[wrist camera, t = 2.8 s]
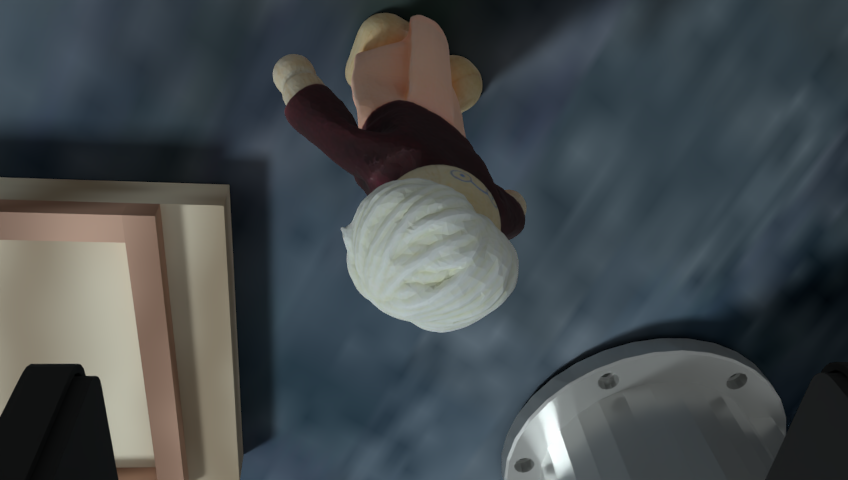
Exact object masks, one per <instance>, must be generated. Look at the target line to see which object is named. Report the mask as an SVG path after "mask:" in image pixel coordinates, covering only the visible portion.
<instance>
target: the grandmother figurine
mask: <svg viewBox="0 0 848 480" xmlns="http://www.w3.org/2000/svg"><path fill="white" fill-rule="evenodd" d="M345 76H346V80H347V82H348V83H349V85H350V86H351V87H352V92H353V100H354V103H355V106H356V108H357V114H358V126H357V124H356V122H355V119H354V118H353V116H352V114H351V113H350V112H349V111H348V109H347V108H346V106H345V105H344V103H343V102H342V101H341V100H340V99H338V98H337V97H336V96H335V94H334V93H333V92H332V91H331V90H330V89H329V88H328V87H327V86H325V85H324V83H323V82H322V80H321V79H320V78H319V77H317V76H316V73H315V70H314V68H313V66H312V64H311V63H310V62H309V60H308V59H306V58H305V57H303V56H301V55H297V54H290V55H286V56H284V57H282V58H281V59H280V60H279V61H278V62H277V63H276V65H275V67H274V70H273V81H274V83H275V85H276V86H277V88H278V89H279V91H280V92H281V93H282V95H283V100H284V102H285V104H286V108H285V116H286V118H287V120H288V122H289V123H290V124H291V125H292V127H293V128H294V129H295V130H297V131H298V132H299V133H300V134H302V135H303V136H304V137H306V138H307V139H308V140H309V141H310V142H311V143H313V144H314V145H316V146H317V147H318V148H319V149H320V150H322V151H323V152H324V153H325V154H326V155H327V156H328V157H329V158H330V159H332V160H333V161H334V162H335V163H337V164H338V165H339V166H340V167H342V168H343V169H344V170H346V171H347V172H348V173H350V174H352V175H354V177H355V180H356V182H357V184H358V185H359V186H360V187H361V188H362V189H363V190H364V191H365V193H366V194H367V197H366V198H365V199H364V200H363V201H362V202H361V204H360V205H359V207H358V209H357V212H356V214H355V216H354V218H353V221H352V222H351V224H349V225H348V226H347V227H345V228H344V227H342V228H341V231H342V233H343V239H344V242H345V246H346V249H347V266H348V271H349V274H350V276H351V278H352V280H353V282H354V285H355V286H356V288H357V290H358V291H359V292H360V293H361V294H362V295H363V296H364V297H365V298H367V299H368V300H370V301H371V302H372V303H373V304H374V305H375V306H376V307H377V308H378V309H380V310H381V311H382V312H384V313H386V314H388V315H390V316H392V317H395V318H397V319H401V320H405V321H409V322H412V323H414V324H415V325H417V326H418V327H420V328H422V329H425V330H428V331H433V332H449V331H453V330H457V329H460V328H464V327H467V326H469V325H471V324H473V323H474V322H476V321H478V320H480V319H481V318H483V317H484V316H486V315H487V314H489V313H490V312H492V311H494V310H495V309H496V308H498V307H499V306H500V305H501V304H502V303H503V302H504V301H505V300H506V299H507V297H508V296H509V295H510V294H511V293H512V291H513V290H514V288H515V286H516V283H517V277H518V264H519V262H518V257H517V253H516V250H515V249H514V247H513V245H512V244H511V243H510V241H509V239H512V238H514V237H515V236H517V235H518V234H519V233H520V232H521V231H522V230H523V228H524V225H525V213H526V202H525V200H524V198H523V197H522V196H521V195H520V194H519V193H518V192H516V191H513V190H504V189H502V188H501V187H499V186H498V185H496V184H495V183H494V182H493V179H492V177H491V175H490V174H489V172H488V169H487V167H486V165H485V163H484V162H483V160H482V159H481V158H480V156H479V155H478V154H476V152H475V151H474V149H473V147H472V145H471V144H470V142H469V141H468V140H467V139H466V136H465V131H464V125H463V119H462V112H464V111H466V110H468V109H469V108H470V107H472V106H473V105H474V104H475V103H476V102H477V101H478V99H479V97H480V95H481V92H482V87H483V85H482V78H481V75H480V73H479V71H478V69H477V68H476V67H475V66H474V65H473V64H472V63H471V62H470V61H469V60H468V59H466V58H464V57H462V56H457V55H449V46H448V42H447V38H446V36H445V34H444V32H443V31H442V29H441V28H440V26H439V25H438V24H437V23H436V22H435V21H433V20H431V19H429V18H427V17H425V16H423V15H415V16H412V17H411V18H410V22H407V21H406V20H404V19H402V18H401V17H399V16H397V15H395V14H391V13H379V14H375V15H373V16H371V17H369V18H368V19H367V20H366V21H364V22H363V24H362V25H361V27H360V29H359V31H358V33H357V36H356V39H355V41H354V44H353V47H352V50H351V53H350V56H349V59H348V61H347V64H346V69H345Z"/></svg>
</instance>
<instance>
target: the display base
mask: <svg viewBox="0 0 848 480" xmlns="http://www.w3.org/2000/svg"><path fill="white" fill-rule="evenodd" d="M30 364H81V365H82V367H83V368H84V371H85V374H86V376H98V377H99V379H100V381H101V385H102V391H103V396H104V402H105V407H106V413H107V419H108V424H109V430H110V435H111V441H112V446H113V452H114V457H115V463H116V469H117V474H118V480H240V475H241V468H242V461H243V440H242V420H241V401H240V381H239V362H238V342H237V323H236V303H235V284H234V264H233V245H232V225H231V206H230V186H229V185H225V184H194V183H162V182H131V181H100V180H69V179H38V178H7V177H0V416H1V414H2V412H3V410H4V408H5V406H6V404H7V402H8V400H9V398H10V396H11V394H12V392H13V390H14V388H15V386H16V384H17V382H18V380H19V378H20V376H21V374H22V372H23V371H24V369H25V368H26V367H27V366H28V365H30Z"/></svg>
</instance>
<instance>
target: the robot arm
mask: <svg viewBox="0 0 848 480" xmlns="http://www.w3.org/2000/svg"><path fill="white" fill-rule="evenodd" d="M502 477H503V480H848V362H834V363H829V364H828V365H826V366H825V367H824V369H823V370H822V372H821V373H818V374H816V375H815V376H814V377H813V379H812V380H811V382H810V384H809V386H808V388H807V391H806V393H805V395H804V397H803V399H802V401H801V403H800V406H799V408H798V410H797V412H796V414H795V416H794V419H793V421H792V423H791V425H790V427H789V429H788V431H787V434H786V415H785V412H784V408H783V405H782V401H781V399H780V397H779V396H778V394H777V393H776V391H775V390H774V388H773V387H772V385H771V383H770V382H769V380H768V379H767V378H766V376H765V375H764V374H763V373H762V372H761V371H760V370H759V368H758V367H757V366H756V365H755V364H754V363H753V362H751V361H750V360H748V359H747V358H745V357H744V356H742V355H741V354H739V353H738V352H736V351H734V350H731V349H728V348H726V347H723V346H721V345H718V344H715V343H711V342H706V341H700V340H694V339H689V338H659V339H652V340H645V341H638V342H631V343H628V344H625V345H621V346H618V347H614V348H611V349H608V350H604V351H602V352H599V353H597V354H595V355H593V356H591V357H588V358H586V359H584V360H582V361H580V362H577V363H575V364H574V365H572V366H571V367H569V368H568V369H566V370H565V371H563V372H561V373H560V374H558V375H557V376H555V377H554V378H552V379H551V380H550V381H549V382H548V383H546V384H545V385H544V386H543V387H542V388H541V389H540V390H539V391H537V392H536V393H535V394H534V395H533V396H532V397H531V398H530V399H529V401H528V402H527V403H526V404H525V406H524V407H523V408H522V409H521V411H520V412H519V413H518V414H517V416H516V418H515V420H514V422H513V424H512V426H511V428H510V429H509V431H508V433H507V435H506V439H505V443H504V447H503V451H502ZM0 480H118V474H117V469H116V463H115V457H114V452H113V446H112V441H111V435H110V430H109V424H108V419H107V413H106V407H105V402H104V396H103V391H102V385H101V381H100V379H99V377H98V376H86V374H85V371H84V368H83V367H82V365H81V364H30V365H28V366H27V367H26V368H25V369H24V371H23V372H22V374H21V376H20V378H19V380H18V382H17V384H16V386H15V388H14V390H13V392H12V394H11V396H10V398H9V400H8V402H7V404H6V406H5V408H4V410H3V412H2V414H1V416H0Z"/></svg>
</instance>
